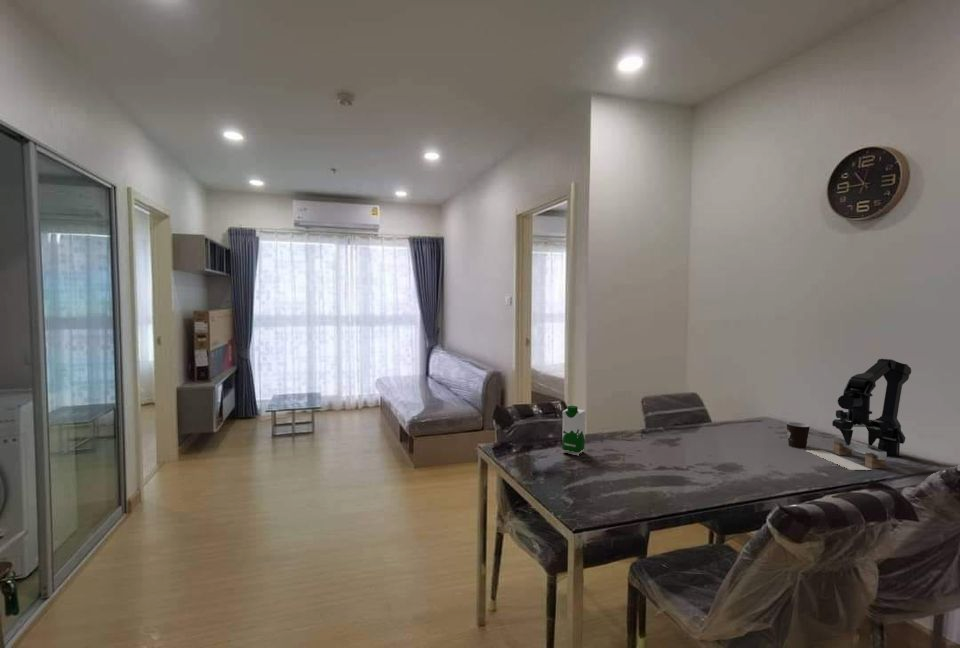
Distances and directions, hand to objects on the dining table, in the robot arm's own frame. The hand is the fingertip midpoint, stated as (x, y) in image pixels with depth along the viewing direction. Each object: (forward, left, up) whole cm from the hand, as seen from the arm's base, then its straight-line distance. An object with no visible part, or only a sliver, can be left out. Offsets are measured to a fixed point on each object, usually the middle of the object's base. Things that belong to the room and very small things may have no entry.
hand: (859, 445), depth 188 cm
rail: (0, 0, -2) cm, 2 cm away
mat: (+9, 0, -6) cm, 11 cm away
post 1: (0, -8, -6) cm, 10 cm away
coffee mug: (+11, -20, -6) cm, 24 cm away
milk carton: (+116, -6, -6) cm, 116 cm away
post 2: (0, +8, -6) cm, 10 cm away
